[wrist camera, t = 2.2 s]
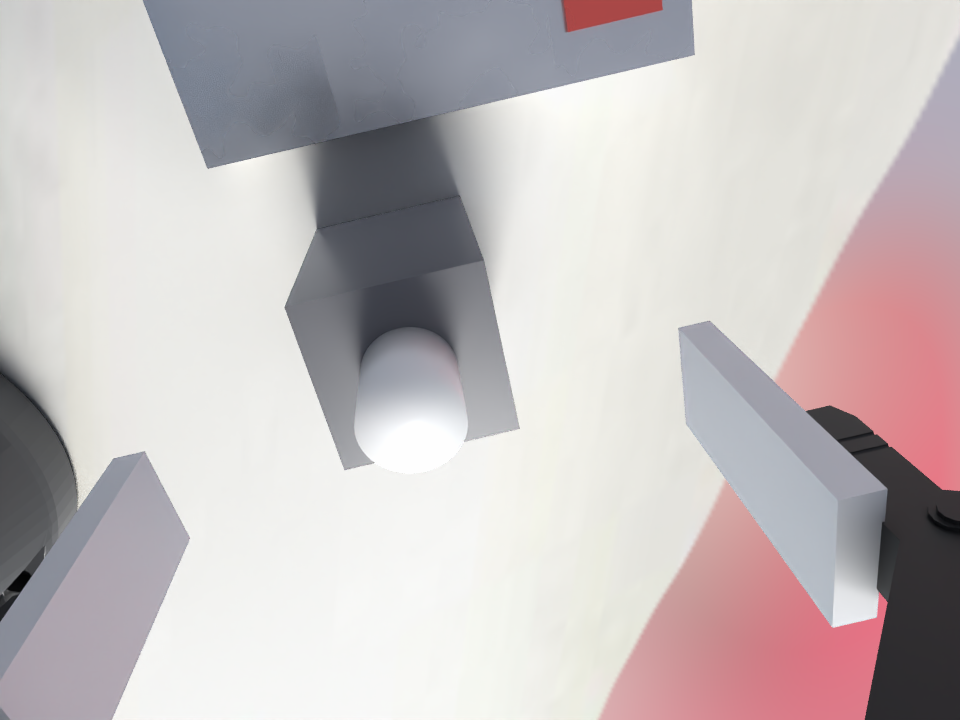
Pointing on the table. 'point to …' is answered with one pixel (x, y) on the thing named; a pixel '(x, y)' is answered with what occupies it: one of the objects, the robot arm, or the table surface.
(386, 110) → the socket plate
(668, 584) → the table surface
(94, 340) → the table surface
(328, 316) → the plug
